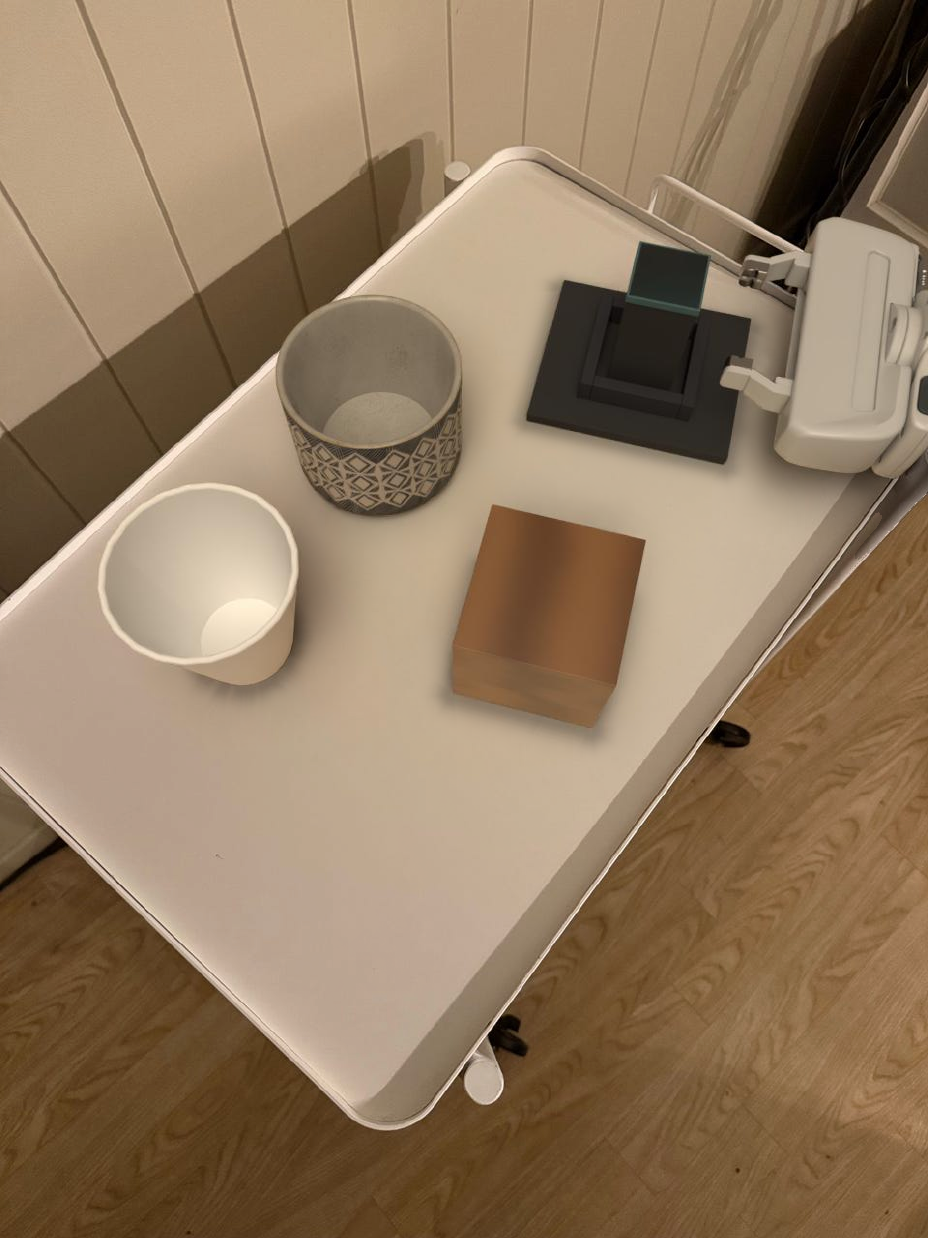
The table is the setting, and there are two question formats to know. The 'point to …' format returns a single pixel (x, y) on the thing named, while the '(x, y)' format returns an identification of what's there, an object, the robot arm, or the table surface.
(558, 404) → the base pad
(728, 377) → the robot arm
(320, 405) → the planter
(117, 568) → the cup
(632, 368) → the pad block
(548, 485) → the table surface
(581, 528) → the block
